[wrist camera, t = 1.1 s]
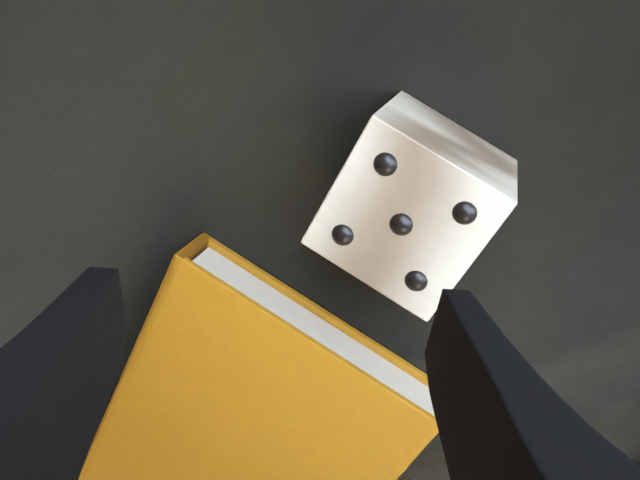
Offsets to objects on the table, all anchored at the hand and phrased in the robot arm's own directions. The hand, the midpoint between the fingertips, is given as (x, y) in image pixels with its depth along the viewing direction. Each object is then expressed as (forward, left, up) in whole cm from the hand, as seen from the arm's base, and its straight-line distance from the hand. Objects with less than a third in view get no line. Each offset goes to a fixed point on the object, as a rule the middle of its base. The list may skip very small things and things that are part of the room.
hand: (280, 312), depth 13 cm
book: (-1, +15, -11) cm, 19 cm away
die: (-1, -1, -11) cm, 11 cm away
